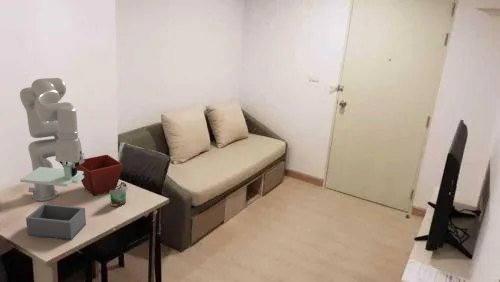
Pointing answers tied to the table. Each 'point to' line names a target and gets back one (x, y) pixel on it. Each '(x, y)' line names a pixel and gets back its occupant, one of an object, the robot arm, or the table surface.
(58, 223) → the parts tub
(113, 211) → the table surface
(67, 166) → the lid
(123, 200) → the food container
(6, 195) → the table surface
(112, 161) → the plant pot
